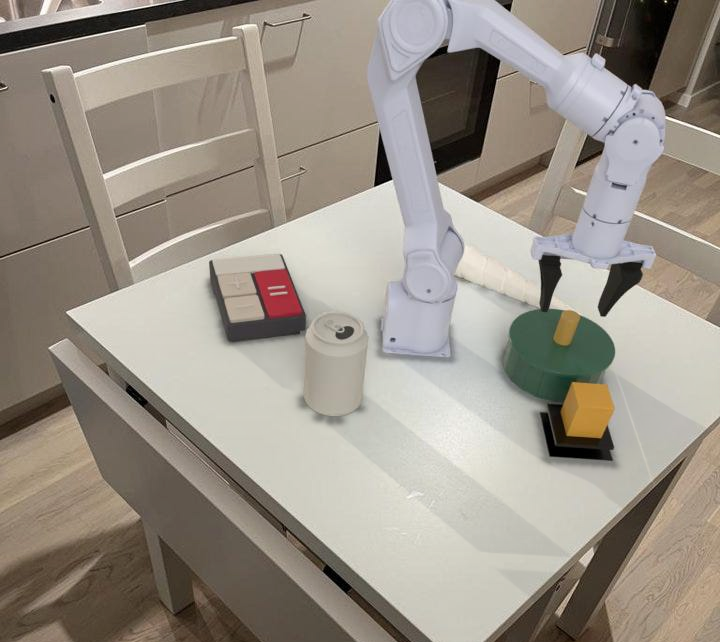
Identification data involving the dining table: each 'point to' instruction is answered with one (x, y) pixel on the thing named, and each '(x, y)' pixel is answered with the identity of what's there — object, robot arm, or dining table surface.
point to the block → (587, 410)
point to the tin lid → (562, 343)
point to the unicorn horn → (501, 279)
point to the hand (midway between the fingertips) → (572, 309)
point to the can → (335, 363)
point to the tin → (540, 378)
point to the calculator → (256, 297)
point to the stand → (573, 439)
